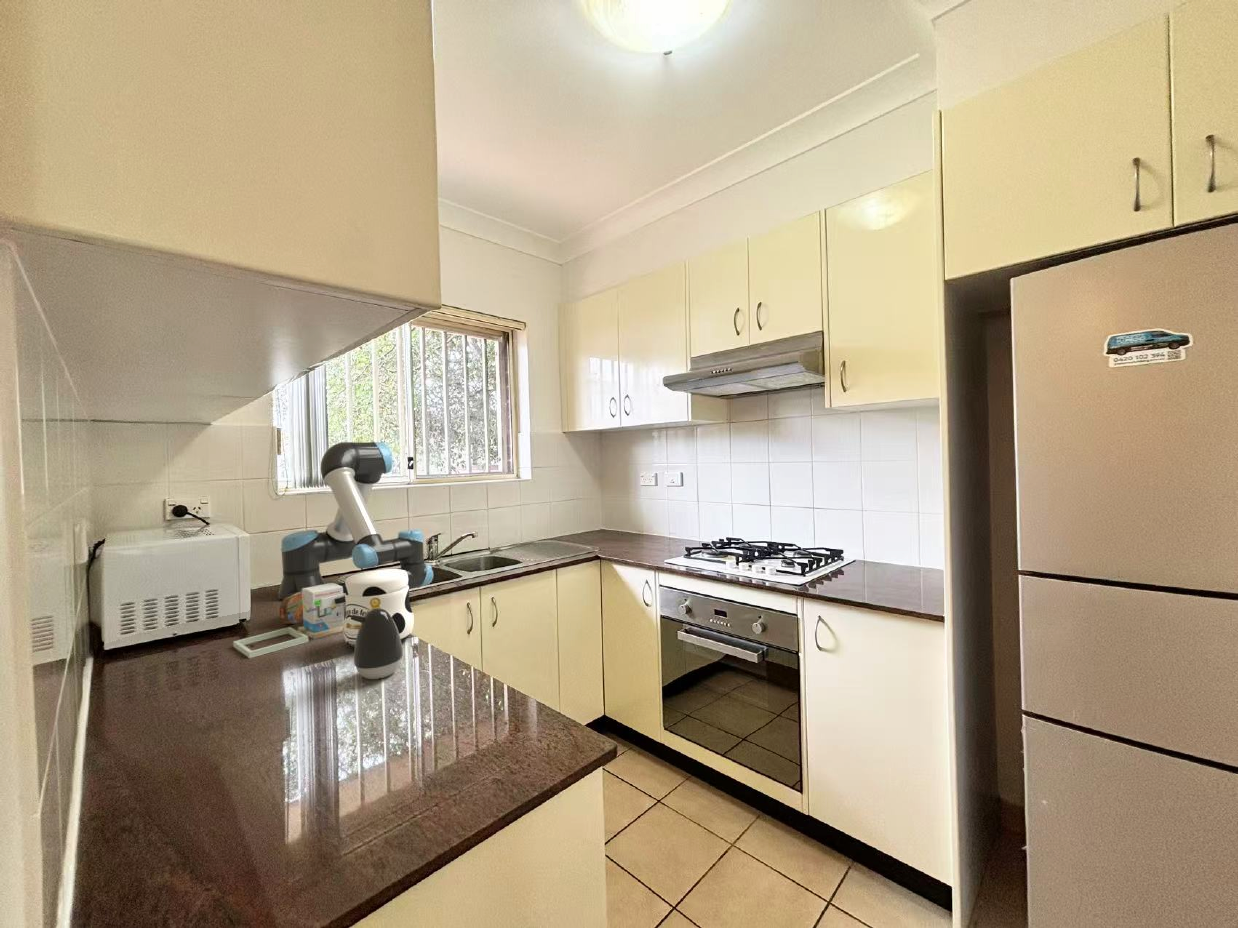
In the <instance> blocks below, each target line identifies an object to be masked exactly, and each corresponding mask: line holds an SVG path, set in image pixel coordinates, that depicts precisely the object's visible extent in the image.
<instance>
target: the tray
mask: <svg viewBox="0 0 1238 928" xmlns="http://www.w3.org/2000/svg"><path fill="white" fill-rule="evenodd" d="M284 635H291V636H292V637H294V638H293V639H289V640H287V641H283V642H280V643H279V642H278V643H275V644H272V645H268V646H264V647H260V648H258V649H253V650H252V649H250V648H249V647H247V646H246V645H250V644H253V643H257V642H260V641H264V640H269V639H273V638H276V637H281V636H284ZM305 643H309V636H307V635H305V634H303V633H301V632H299V631H298V629H295V628H293V627H291V626H288V627H285V628H284V627H283V628H280V629H276V630H272V631H268V632H264V633H261V634H258V635H257V634H256V635H254V636H249V637H246V638H242V639H238V640H233V648H234V649H236V650H237V651H238V652H240V653H241V654H243V655H244V656H246V657H247V658H248V659H252V658H256V657H258V656H262V655H266V654H270V653H274V652H277V651H280V650H284V649H286V648H291V647H295V646H298V645H302V644H305Z"/></svg>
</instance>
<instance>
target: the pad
mask: <svg viewBox="0 0 1238 928" xmlns="http://www.w3.org/2000/svg"><path fill="white" fill-rule="evenodd" d="M297 631H299V632H301V633H303V634H305V635H307V636H308V638H311V639H313V640H317V639H319V638H323V637H327V636H330V635H334V634H337V633H341V632H343V626H339V627H335V628H331V629H327V630H324V631H320V632H316V633H313V632H311V631H309V630H307V629H306V628H304V625H302V626H298V627H297Z"/></svg>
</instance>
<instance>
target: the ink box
mask: <svg viewBox="0 0 1238 928" xmlns="http://www.w3.org/2000/svg"><path fill="white" fill-rule="evenodd" d="M337 584H338V583H334V582H329V583H325V584H323V585H318V586H313V587H308V588H303V589H302V602H303V620H302V621H303V626H304V628H306V629H307V630H309V631H311V632H313V633H316V632H320V631H324V630H327V629H331V628H335V627H339V626H343V625H344V620H345V608H344V604H345V603H344V604H340V605H336V606H332V607H328V608H324V609H321V599H322V598H327V597H331V596H335V595H340V594H344V593H343V587H342V586H340V585H337Z"/></svg>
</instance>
